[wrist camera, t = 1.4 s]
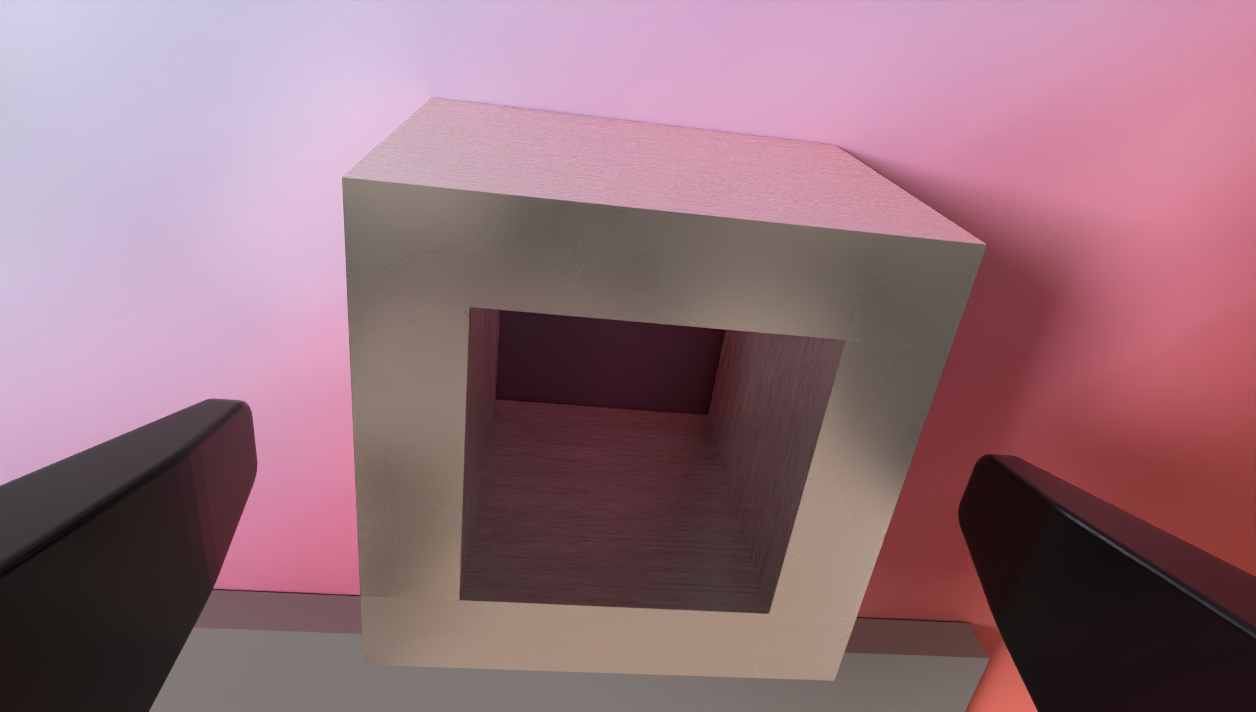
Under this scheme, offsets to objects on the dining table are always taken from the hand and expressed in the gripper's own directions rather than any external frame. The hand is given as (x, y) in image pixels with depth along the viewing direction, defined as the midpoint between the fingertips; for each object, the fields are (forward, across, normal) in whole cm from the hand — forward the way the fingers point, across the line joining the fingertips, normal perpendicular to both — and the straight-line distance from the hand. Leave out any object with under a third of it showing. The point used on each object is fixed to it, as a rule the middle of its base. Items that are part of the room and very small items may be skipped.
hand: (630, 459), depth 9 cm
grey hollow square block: (+4, 0, 0) cm, 5 cm away
